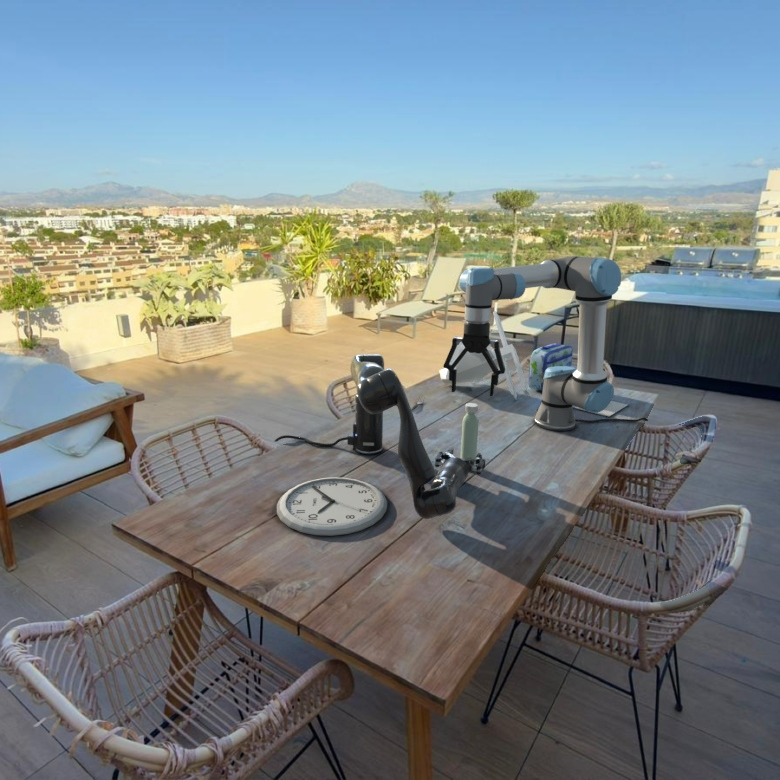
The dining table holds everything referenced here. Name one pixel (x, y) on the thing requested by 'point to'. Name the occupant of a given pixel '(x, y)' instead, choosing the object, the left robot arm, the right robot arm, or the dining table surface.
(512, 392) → the white plastic object
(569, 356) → the lunch box
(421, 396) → the fork
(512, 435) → the dining table surface
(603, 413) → the invitation card
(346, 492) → the wall clock
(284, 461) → the dining table surface
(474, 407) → the cap
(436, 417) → the dining table surface
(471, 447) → the bottle
